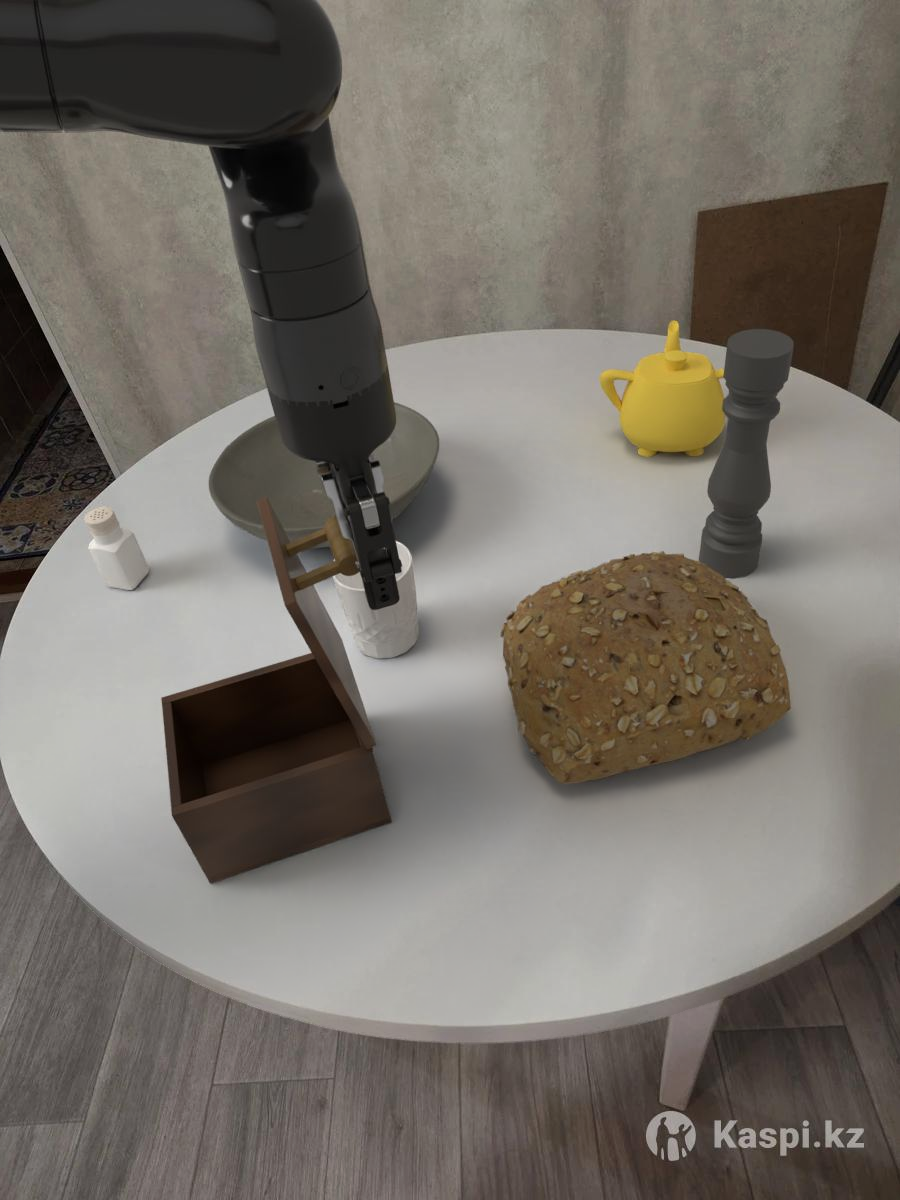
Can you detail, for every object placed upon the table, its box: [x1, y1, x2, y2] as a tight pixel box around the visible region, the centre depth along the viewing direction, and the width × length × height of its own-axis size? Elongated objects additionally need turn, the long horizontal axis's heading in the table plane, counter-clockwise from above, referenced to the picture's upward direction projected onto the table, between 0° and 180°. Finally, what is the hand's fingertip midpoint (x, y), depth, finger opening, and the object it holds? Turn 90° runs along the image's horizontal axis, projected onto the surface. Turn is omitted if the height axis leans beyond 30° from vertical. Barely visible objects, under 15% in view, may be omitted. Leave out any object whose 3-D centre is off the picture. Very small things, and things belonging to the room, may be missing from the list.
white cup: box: [332, 540, 420, 660], centre depth 87 cm, size 8×8×10 cm
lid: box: [257, 497, 377, 749], centre depth 65 cm, size 16×13×6 cm
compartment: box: [160, 652, 393, 884], centre depth 73 cm, size 16×13×10 cm
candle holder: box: [698, 328, 795, 579], centre depth 85 cm, size 6×6×25 cm
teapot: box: [599, 319, 729, 458], centre depth 108 cm, size 14×14×12 cm
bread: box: [500, 550, 792, 784], centre depth 77 cm, size 24×21×12 cm
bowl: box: [208, 401, 440, 549], centre depth 105 cm, size 27×28×8 cm
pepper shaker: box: [84, 506, 150, 591], centre depth 99 cm, size 4×4×10 cm
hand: (369, 568), depth 63 cm, fingers open, 8 cm apart
